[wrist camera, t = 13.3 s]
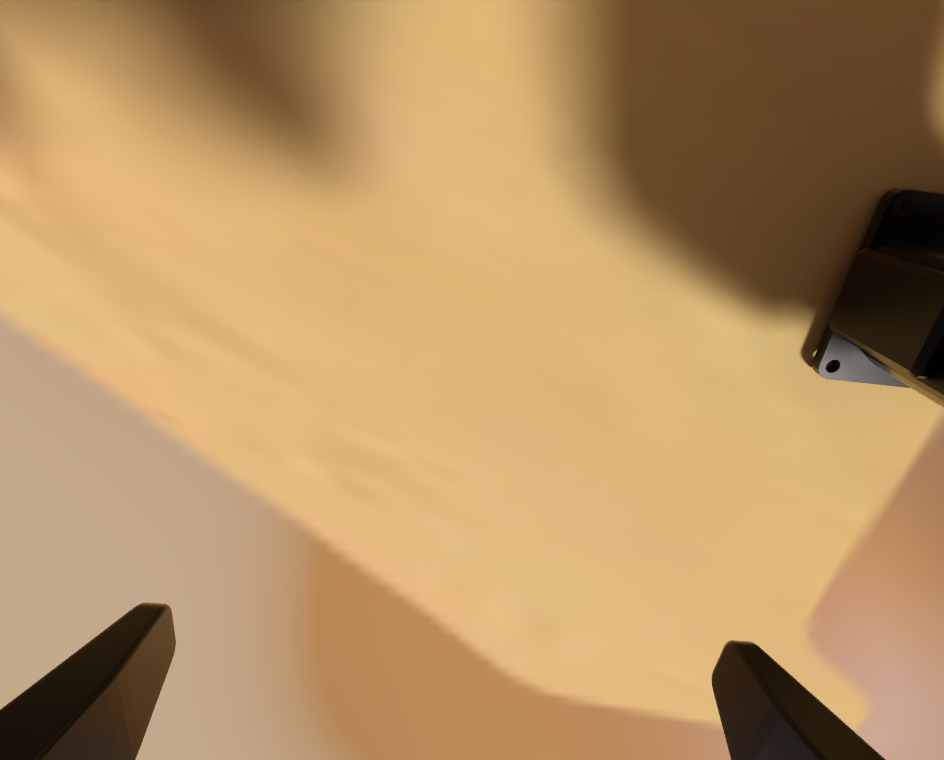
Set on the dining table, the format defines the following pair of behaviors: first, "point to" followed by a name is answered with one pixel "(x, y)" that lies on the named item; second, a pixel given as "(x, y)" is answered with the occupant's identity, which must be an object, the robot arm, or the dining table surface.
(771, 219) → the dining table surface
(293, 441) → the dining table surface
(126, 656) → the robot arm
